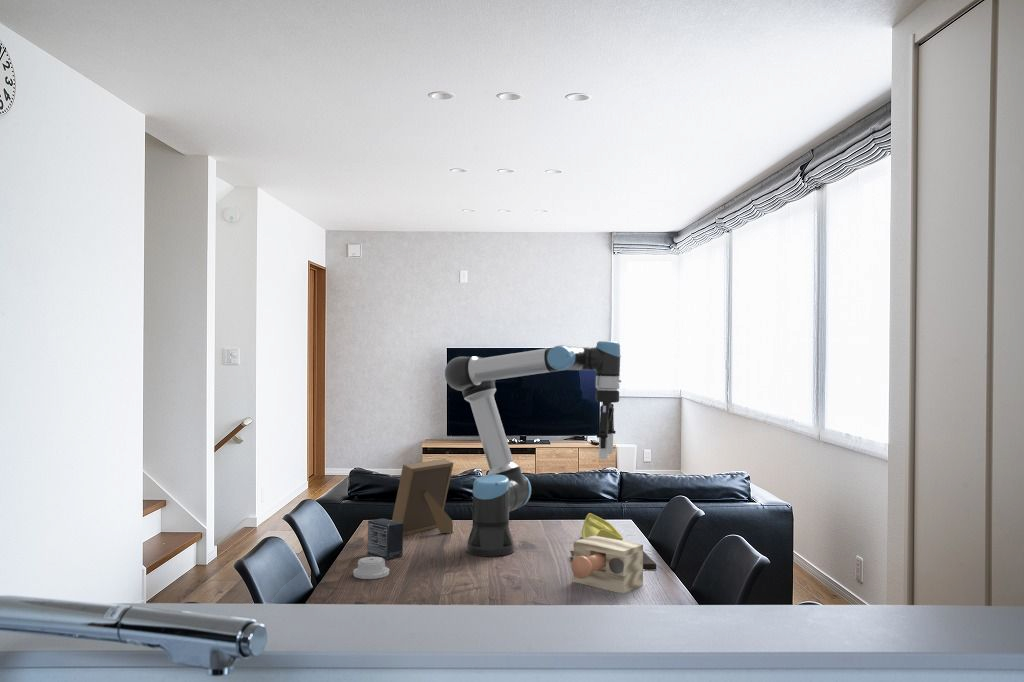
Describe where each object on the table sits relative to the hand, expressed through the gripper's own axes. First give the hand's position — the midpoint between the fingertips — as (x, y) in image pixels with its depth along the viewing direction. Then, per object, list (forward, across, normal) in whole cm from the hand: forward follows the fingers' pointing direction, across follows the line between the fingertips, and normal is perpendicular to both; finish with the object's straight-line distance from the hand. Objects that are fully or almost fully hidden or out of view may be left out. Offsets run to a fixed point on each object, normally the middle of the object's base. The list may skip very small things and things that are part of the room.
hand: (605, 456), depth 234 cm
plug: (+26, -38, -2) cm, 47 cm away
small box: (+32, -22, +65) cm, 76 cm away
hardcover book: (+31, -10, -4) cm, 33 cm away
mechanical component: (+32, -42, +60) cm, 80 cm away
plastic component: (+31, +19, +3) cm, 37 cm away
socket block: (+31, -32, -5) cm, 44 cm away
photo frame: (+32, +11, +64) cm, 72 cm away
